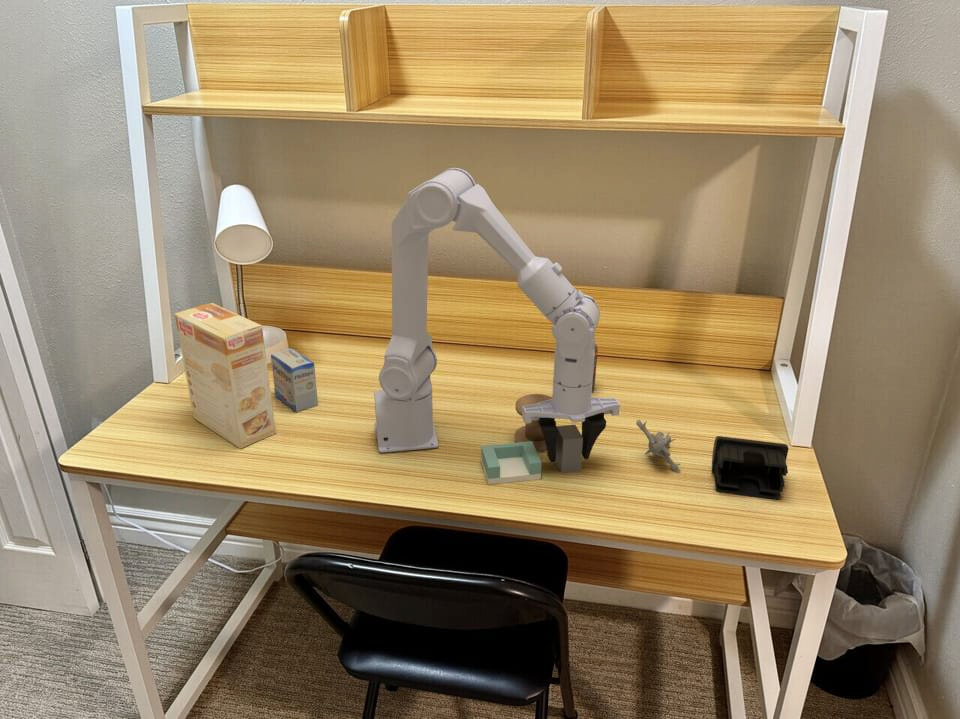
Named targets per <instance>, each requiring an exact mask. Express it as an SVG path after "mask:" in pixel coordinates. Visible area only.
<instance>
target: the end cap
mask: <svg viewBox="0 0 960 719" xmlns="http://www.w3.org/2000/svg"><path fill="white" fill-rule="evenodd" d="M789 450H790V449H789V446H788V445H787V443H781V442H780V443H779V442H774V441H773V442H771V441H763V440H756V439H755V440H754V439H746V438H740V437H739V438H738V437H737V438H736V437H728V436H722V435H717V436H715V439H714V442H713V447H712V456H711V473H712V474H714V489H715V492H716V493H719V494H726V495H733V496H734V495H735V496H742V497H750V498H756V499H757V498H758V499H762V500H763V499H764V500H773V501H780V499H781V496H782V495H781V493H783V490H784V488H785V487H786V484H785V479H784V478H785V477H787V474H788V473H789V471H788V466H787V458H788V453H789Z"/></svg>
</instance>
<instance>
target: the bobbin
mask: <svg viewBox="0 0 960 719" xmlns="http://www.w3.org/2000/svg"><path fill="white" fill-rule="evenodd" d="M550 399H552V396H551V395H547V394H542V393H541V394H540V393H531V394H526V395H523V396H520V397H519V398H517V399H516V401H515V411H516V413H517V414H518V415H519V416H520V417H522V406H527V405H532V404H536V403H540V402H543V401H546V400H550ZM529 441H532V442H533V445H534V447H535V449H536V451H537V452H545V451H546V452H547V448H546V443H545V439H544V436H543V433H542V430H541V428H540V425H539V423H538V421H537V420H533V421H532V422H531V423H526V424H525V425H524V426H521V427H519V428H518V429H516V431H515V433H514V443H518V442H529Z"/></svg>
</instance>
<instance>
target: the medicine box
mask: <svg viewBox="0 0 960 719" xmlns="http://www.w3.org/2000/svg"><path fill="white" fill-rule="evenodd" d="M270 361H271V362H270V363H271V368H272V371H271V372H272V379H273V387H274V388H273V389H274V397H276V399H278V400H279V401H280V402H282V403H284V404H285V405H287V406H288V407H289V408H290V409H292V410H293V411H295V412H296V413H299V412H302V411H305V410H308V408H309V409H311V408H314V407H316V406H318V405H319V400H318V397H319V396H318V388H317V378H316V369H315V368H316V367H315V362H314V361H312V360H310V359H309V358H307V357H306V356H305V355H303V354H301V353H300V352H298V351H297V350H295V349H294V348H292V347H291V348H286V349H283V350H279V351H276V352H274V353H271V354H270Z"/></svg>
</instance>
